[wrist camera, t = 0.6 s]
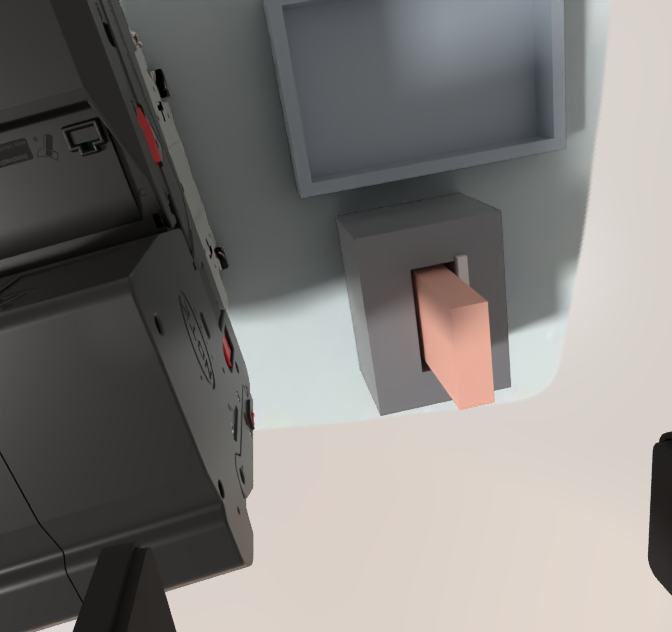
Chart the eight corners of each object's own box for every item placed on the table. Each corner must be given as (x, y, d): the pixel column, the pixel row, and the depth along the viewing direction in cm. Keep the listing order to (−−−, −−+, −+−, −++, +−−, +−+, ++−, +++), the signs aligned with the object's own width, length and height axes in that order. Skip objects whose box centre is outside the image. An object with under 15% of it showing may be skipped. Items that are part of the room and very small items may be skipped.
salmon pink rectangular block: (393, 252, 41) (450, 309, 30) (420, 246, 41) (487, 301, 30) (403, 330, 43) (459, 410, 32) (429, 324, 44) (494, 402, 32)
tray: (262, -1, 36) (264, -9, 33) (538, -44, 37) (563, -55, 34) (297, 191, 40) (301, 198, 37) (543, 145, 41) (565, 148, 39)
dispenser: (335, 216, 41) (355, 240, 34) (460, 192, 42) (504, 211, 35) (360, 370, 45) (382, 419, 38) (472, 346, 46) (513, 389, 39)
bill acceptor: (135, -23, 34) (-82, -276, 11) (253, 328, 43) (270, 601, 20) (-45, 24, 34) (-672, -138, 10) (111, 370, 42) (-44, 703, 19)
